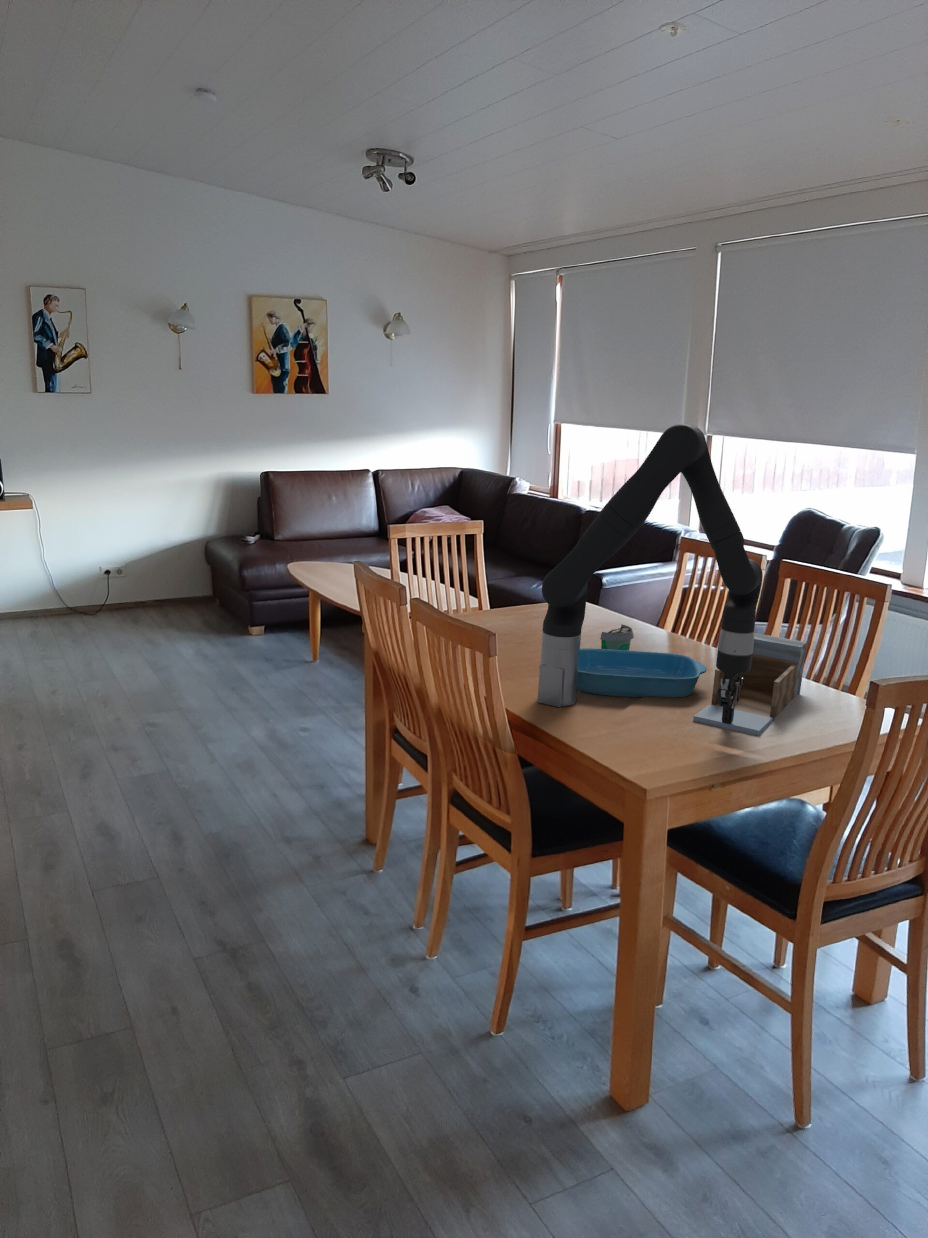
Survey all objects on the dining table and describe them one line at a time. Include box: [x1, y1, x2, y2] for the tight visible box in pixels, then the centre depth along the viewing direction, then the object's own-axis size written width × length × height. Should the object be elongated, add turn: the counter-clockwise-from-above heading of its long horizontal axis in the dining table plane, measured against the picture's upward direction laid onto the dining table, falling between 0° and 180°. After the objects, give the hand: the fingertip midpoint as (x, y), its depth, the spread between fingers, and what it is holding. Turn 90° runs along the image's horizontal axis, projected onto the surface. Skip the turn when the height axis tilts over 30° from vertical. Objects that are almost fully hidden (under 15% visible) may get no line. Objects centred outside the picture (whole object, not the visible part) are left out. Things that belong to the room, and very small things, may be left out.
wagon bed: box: [710, 632, 808, 719], centre depth 233 cm, size 26×15×14 cm, turn 148°
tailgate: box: [692, 703, 776, 737], centre depth 218 cm, size 1×16×13 cm
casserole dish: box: [577, 647, 708, 699], centre depth 242 cm, size 37×22×7 cm, turn 84°
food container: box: [599, 624, 635, 651], centre depth 260 cm, size 12×6×10 cm, turn 143°
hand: (727, 722), depth 213 cm, fingers closed
